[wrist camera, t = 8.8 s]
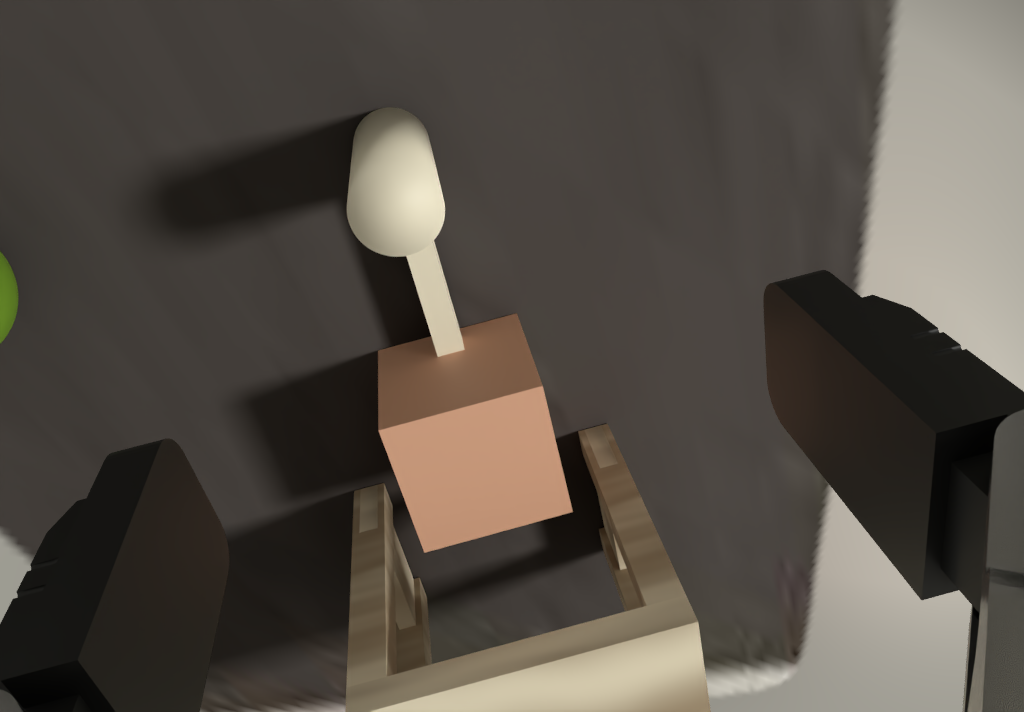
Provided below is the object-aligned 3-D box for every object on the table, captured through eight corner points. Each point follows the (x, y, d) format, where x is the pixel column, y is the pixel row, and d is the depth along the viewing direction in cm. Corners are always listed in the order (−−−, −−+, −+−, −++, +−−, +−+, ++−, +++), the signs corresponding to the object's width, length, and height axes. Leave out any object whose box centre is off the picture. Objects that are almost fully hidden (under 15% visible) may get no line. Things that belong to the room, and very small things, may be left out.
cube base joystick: (299, 129, 29) (277, 191, 22) (460, 87, 29) (485, 136, 22) (417, 462, 36) (426, 580, 30) (544, 427, 37) (581, 537, 30)
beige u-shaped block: (354, 490, 37) (345, 718, 26) (607, 423, 37) (697, 621, 27) (399, 604, 40) (408, 842, 30) (629, 542, 41) (716, 757, 30)
